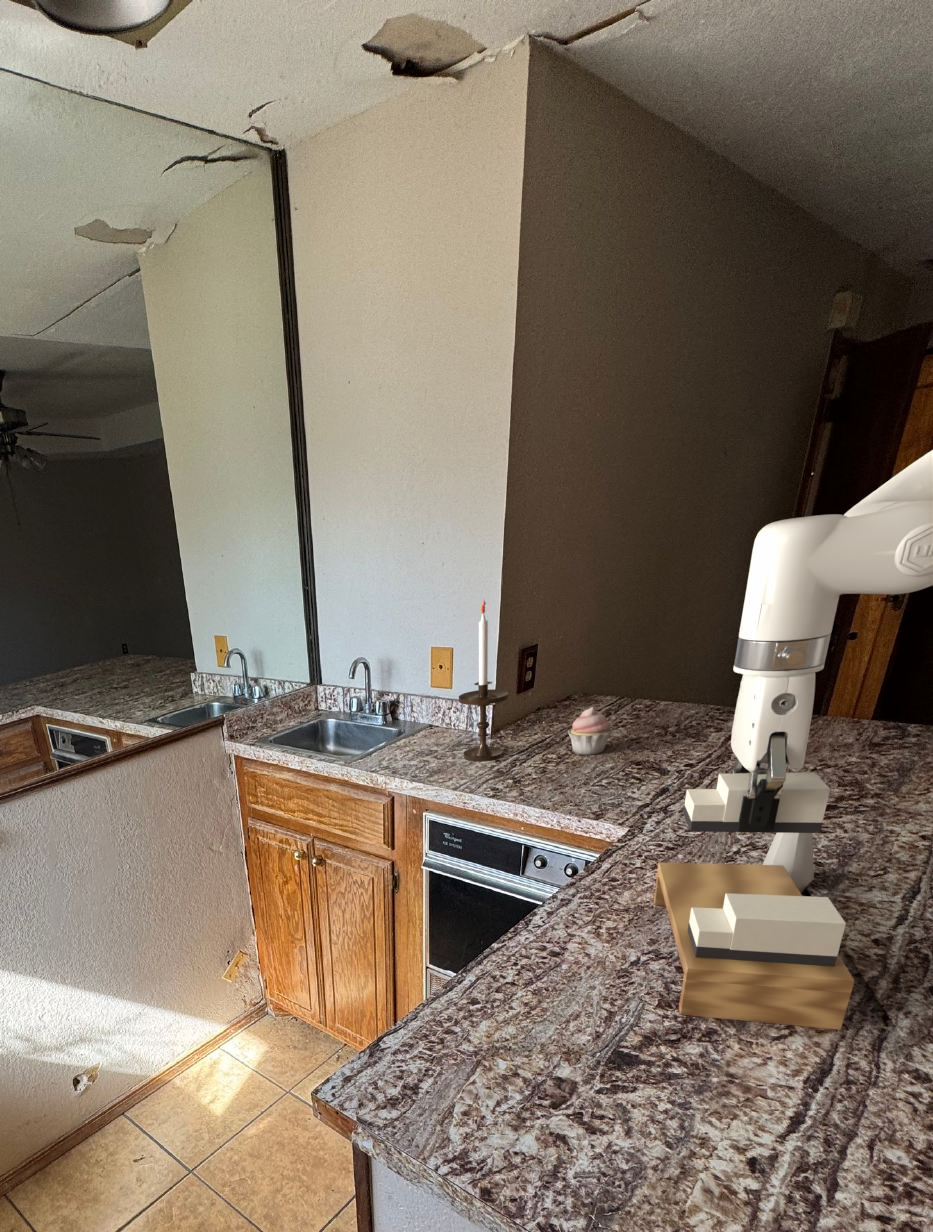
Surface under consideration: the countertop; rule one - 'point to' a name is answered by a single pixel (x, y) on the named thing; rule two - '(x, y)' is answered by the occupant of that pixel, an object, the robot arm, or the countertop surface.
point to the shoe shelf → (741, 983)
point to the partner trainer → (768, 929)
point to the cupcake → (590, 732)
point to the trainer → (723, 805)
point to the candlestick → (483, 699)
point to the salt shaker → (793, 856)
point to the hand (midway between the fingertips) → (748, 818)
